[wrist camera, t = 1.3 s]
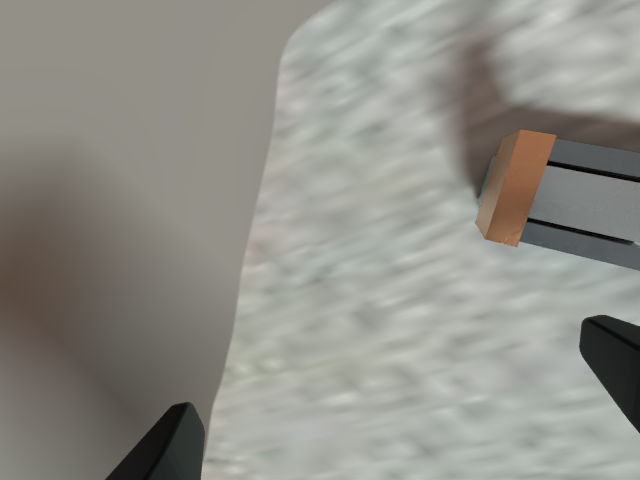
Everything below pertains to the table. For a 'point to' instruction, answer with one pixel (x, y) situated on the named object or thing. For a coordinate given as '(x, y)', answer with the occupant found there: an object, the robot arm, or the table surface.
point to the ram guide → (585, 242)
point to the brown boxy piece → (551, 194)
